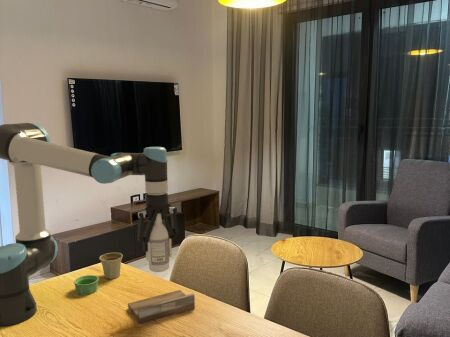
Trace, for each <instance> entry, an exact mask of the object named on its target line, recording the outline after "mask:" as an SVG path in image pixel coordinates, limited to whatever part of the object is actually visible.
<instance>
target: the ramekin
mask: <svg viewBox="0 0 450 337" xmlns="http://www.w3.org/2000/svg"><path fill="white" fill-rule="evenodd" d="M99 279H100V278H99V277H98V276H97V275H92V274H87V275H82V276H79V277H77V278H75V280H74V281H73V283H74V287H75V292H76V293H77V294H78V295H84V296H85V295H86V296H87V295H91V294H94V293H96V292H97V291H98V290H99Z"/></svg>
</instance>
